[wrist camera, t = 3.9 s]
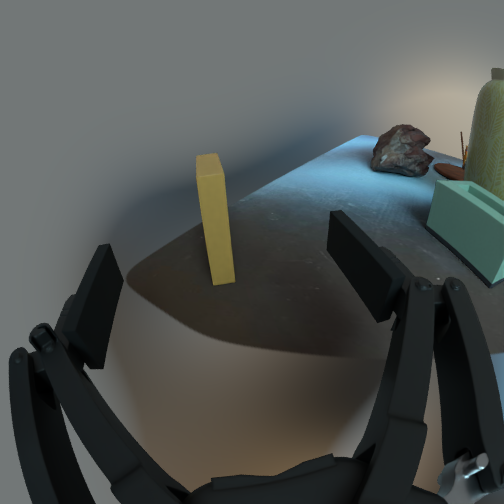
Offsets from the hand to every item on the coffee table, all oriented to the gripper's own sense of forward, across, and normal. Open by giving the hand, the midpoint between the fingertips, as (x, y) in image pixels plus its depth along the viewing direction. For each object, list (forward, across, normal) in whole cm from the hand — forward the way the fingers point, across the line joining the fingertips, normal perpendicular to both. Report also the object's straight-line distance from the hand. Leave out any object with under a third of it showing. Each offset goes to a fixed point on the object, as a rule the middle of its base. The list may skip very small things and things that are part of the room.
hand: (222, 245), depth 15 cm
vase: (+9, +48, -8) cm, 50 cm away
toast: (+9, 0, -7) cm, 12 cm away
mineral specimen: (+31, +40, -8) cm, 51 cm away
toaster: (+3, +31, -8) cm, 32 cm away
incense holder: (+32, +67, -8) cm, 75 cm away
